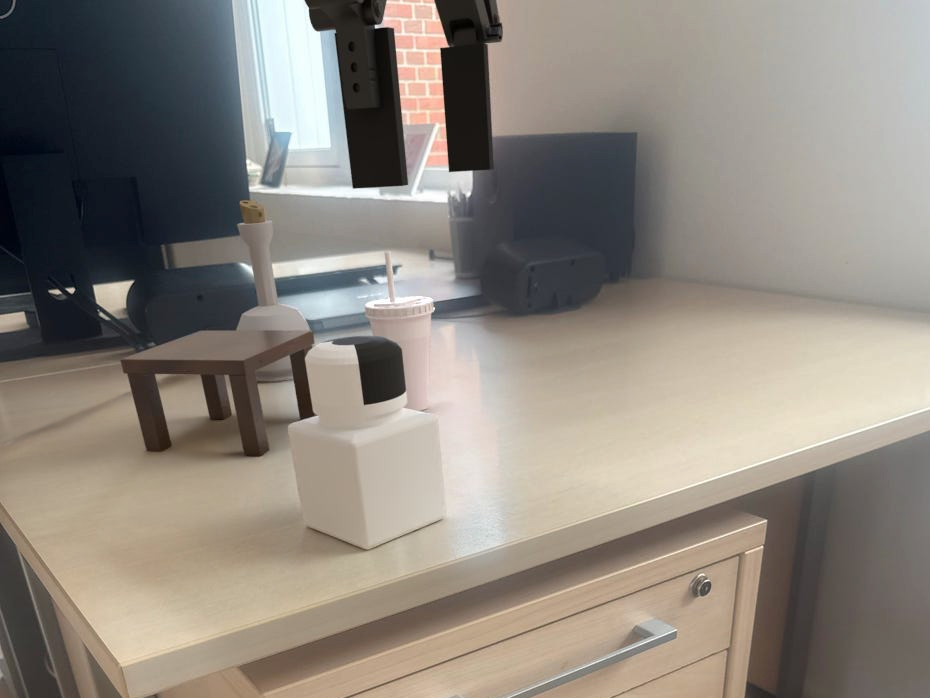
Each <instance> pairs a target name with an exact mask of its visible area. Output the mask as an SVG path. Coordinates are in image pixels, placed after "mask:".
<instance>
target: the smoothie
mask: <svg viewBox="0 0 930 698" xmlns="http://www.w3.org/2000/svg"><path fill="white" fill-rule="evenodd" d="M384 261H385V269H386V278H387V287H388V297H387V298H380V299H375V300H371V301H369V302H367V303H365V304H364V312H365V313H364V314H365V315H364V316H365V318H367V319H368V320H369V323H370V328H371V332H372V333H371V334H372V336H379V337H384V338H387V339H389V340H392V341H394V342H396V343H397V344H398V345H399V346H400V347H401V348H402V355H403V365H404V374H405V384H406V394H407V404H406V405H405V406H403V408H407V409H411V410H416V411H420V412H423V411H424V410H426V409H428V408H429V405H430V373H431V337H432V336H431V334H432V313H434V312H435V310H436V308H435V307H434V306H435V305H434V299H432V298H431V297H427V296H419V295H418V296H417V295H413V296H412V295H411V296H409V295H407V296H406V295H405V296H396V289H395V280H394V269H393V262H392V261H393V260H392V251H391V250H385V251H384Z"/></svg>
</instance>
